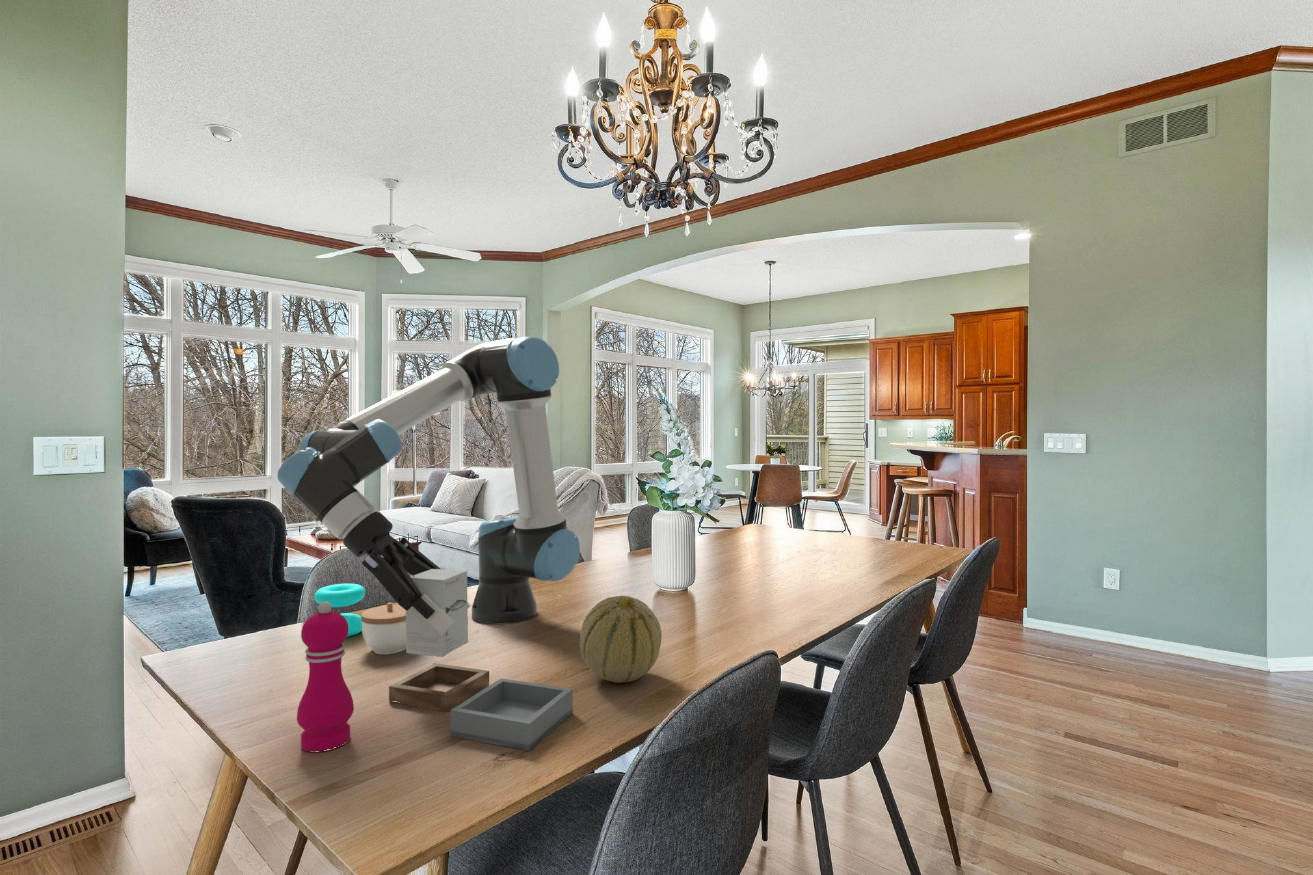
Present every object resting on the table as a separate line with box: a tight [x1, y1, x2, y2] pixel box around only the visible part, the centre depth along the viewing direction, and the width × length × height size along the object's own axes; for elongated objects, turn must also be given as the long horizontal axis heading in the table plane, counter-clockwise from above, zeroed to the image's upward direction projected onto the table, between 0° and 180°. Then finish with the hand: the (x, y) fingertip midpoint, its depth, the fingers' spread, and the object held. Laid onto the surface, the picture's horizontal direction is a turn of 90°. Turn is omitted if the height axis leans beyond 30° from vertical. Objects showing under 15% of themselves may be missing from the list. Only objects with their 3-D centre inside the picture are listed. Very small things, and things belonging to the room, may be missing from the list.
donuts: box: [314, 583, 366, 638], centre depth 144 cm, size 10×10×10 cm
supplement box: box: [405, 568, 469, 658], centre depth 111 cm, size 7×7×13 cm
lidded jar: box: [360, 602, 406, 655], centre depth 134 cm, size 11×11×9 cm
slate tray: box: [450, 677, 574, 752], centre depth 100 cm, size 13×13×4 cm
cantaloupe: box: [579, 595, 662, 684], centre depth 117 cm, size 15×15×15 cm
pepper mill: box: [296, 602, 355, 752], centre depth 94 cm, size 7×7×20 cm
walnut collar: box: [388, 662, 490, 713], centre depth 111 cm, size 11×11×2 cm
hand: (456, 619), depth 111 cm, fingers closed on supplement box, 9 cm apart
